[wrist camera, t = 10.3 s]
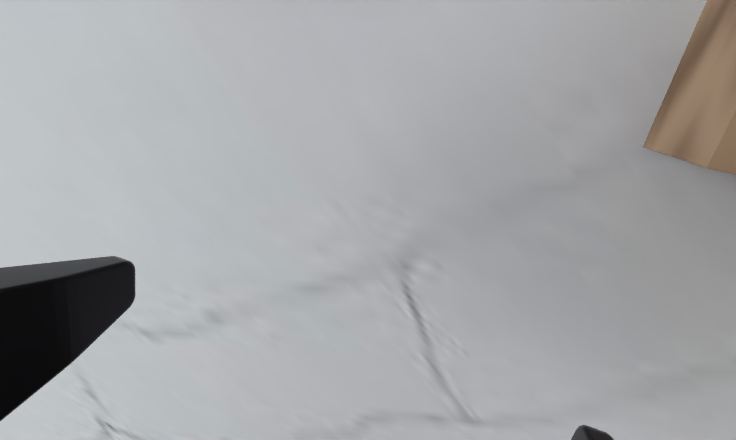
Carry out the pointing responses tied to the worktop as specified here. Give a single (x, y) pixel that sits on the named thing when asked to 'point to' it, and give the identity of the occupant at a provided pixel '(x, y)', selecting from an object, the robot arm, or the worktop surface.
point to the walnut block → (702, 95)
